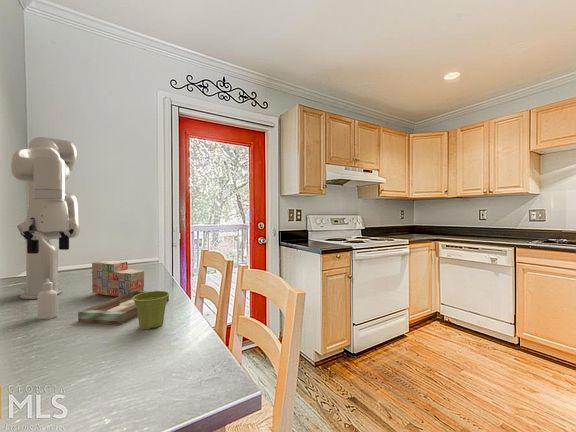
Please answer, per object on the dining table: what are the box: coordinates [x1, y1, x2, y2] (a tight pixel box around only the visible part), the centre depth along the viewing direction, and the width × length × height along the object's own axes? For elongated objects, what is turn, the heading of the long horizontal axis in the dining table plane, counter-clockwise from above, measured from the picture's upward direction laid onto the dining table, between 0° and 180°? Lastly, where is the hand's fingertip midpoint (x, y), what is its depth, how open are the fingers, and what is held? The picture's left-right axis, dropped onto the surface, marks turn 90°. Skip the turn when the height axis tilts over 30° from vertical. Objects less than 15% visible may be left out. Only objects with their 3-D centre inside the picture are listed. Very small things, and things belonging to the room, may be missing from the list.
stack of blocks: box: [91, 260, 145, 297], centre depth 110 cm, size 21×6×12 cm, turn 68°
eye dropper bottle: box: [37, 278, 58, 320], centre depth 86 cm, size 4×6×12 cm
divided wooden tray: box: [77, 290, 170, 326], centre depth 93 cm, size 14×24×3 cm, turn 171°
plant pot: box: [133, 290, 170, 330], centre depth 80 cm, size 9×9×9 cm
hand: (49, 251), depth 87 cm, fingers open, 9 cm apart
